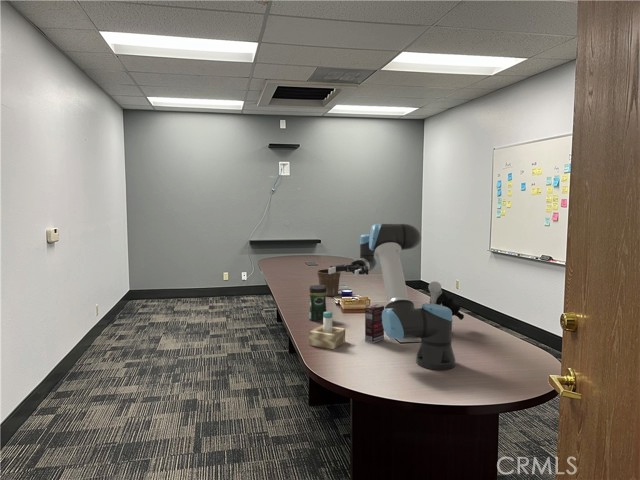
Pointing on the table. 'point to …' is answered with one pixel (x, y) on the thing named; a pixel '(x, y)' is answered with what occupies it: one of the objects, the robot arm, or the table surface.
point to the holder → (327, 337)
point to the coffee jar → (317, 302)
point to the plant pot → (329, 281)
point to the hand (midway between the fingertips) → (342, 272)
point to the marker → (327, 322)
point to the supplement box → (374, 323)
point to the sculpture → (443, 299)
